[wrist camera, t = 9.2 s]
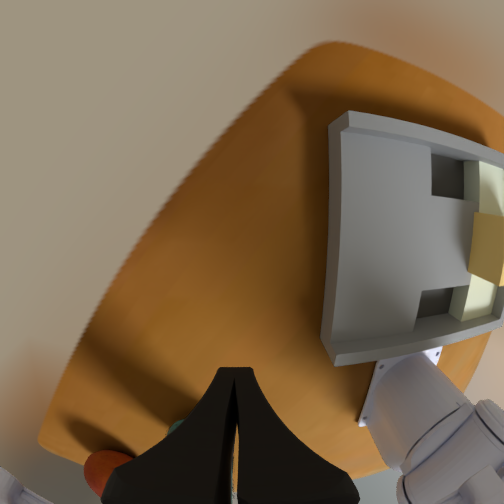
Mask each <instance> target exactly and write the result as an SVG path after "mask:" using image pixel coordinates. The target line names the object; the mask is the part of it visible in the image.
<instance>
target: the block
mask: <svg viewBox="0 0 504 504" xmlns="http://www.w3.org/2000/svg"><path fill="white" fill-rule="evenodd" d="M468 272H469V273H471V274H473V275H475V276H478V277H480V278H482V279H484V280H486V281H488V282H491V283H493V284H495V285H497V286H504V216H501V215H494V214H487V213H479V212H474V224H473V235H472V244H471V252H470V259H469V266H468Z"/></svg>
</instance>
